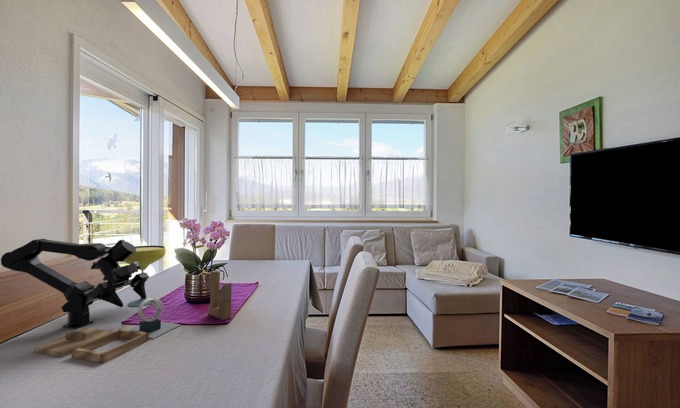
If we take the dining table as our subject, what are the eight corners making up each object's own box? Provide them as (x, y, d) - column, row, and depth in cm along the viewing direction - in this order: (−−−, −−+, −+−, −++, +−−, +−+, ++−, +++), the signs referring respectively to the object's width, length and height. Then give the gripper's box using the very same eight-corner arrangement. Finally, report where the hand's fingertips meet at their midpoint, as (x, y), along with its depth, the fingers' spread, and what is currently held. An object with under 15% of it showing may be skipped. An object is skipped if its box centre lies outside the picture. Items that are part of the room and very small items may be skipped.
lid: (34, 351, 93) (34, 340, 93) (86, 331, 107) (86, 322, 107) (62, 356, 90) (62, 346, 90) (112, 335, 104) (112, 326, 104)
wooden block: (223, 320, 118) (223, 275, 118) (207, 314, 124) (208, 271, 124) (231, 317, 121) (232, 273, 121) (216, 312, 127) (216, 269, 127)
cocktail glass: (122, 299, 142) (122, 246, 142) (166, 294, 150) (166, 244, 150) (113, 312, 126) (114, 252, 126) (163, 306, 134) (164, 249, 134)
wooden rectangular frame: (72, 357, 89) (72, 348, 89) (120, 335, 104) (120, 328, 104) (102, 363, 86) (102, 354, 86) (148, 340, 101) (148, 332, 101)
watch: (166, 326, 111) (166, 296, 111) (143, 335, 104) (143, 303, 104) (156, 323, 114) (157, 294, 114) (134, 331, 106) (134, 300, 106)
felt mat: (121, 334, 105) (121, 333, 105) (150, 321, 117) (150, 320, 117) (153, 339, 102) (153, 338, 101) (180, 325, 113) (180, 324, 113)
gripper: (97, 260, 103) (122, 295, 101) (145, 252, 121) (167, 281, 119) (80, 281, 105) (104, 316, 103) (130, 270, 123) (151, 299, 121)
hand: (134, 302), depth 111 cm, fingers open, 9 cm apart
